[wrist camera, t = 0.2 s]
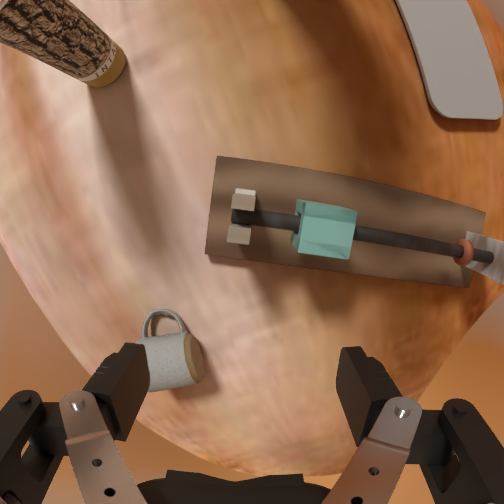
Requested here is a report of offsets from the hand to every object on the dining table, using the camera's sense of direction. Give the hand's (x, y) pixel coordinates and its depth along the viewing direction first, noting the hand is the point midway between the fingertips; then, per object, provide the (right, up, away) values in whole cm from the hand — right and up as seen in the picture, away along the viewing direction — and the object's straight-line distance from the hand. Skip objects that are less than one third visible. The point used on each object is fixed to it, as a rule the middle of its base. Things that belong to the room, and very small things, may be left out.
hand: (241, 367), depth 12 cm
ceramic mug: (-11, -8, +31) cm, 34 cm away
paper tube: (-20, +30, +22) cm, 43 cm away
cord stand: (+15, +8, +27) cm, 32 cm away
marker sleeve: (+7, +8, +22) cm, 24 cm away
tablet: (+31, +37, +21) cm, 53 cm away
